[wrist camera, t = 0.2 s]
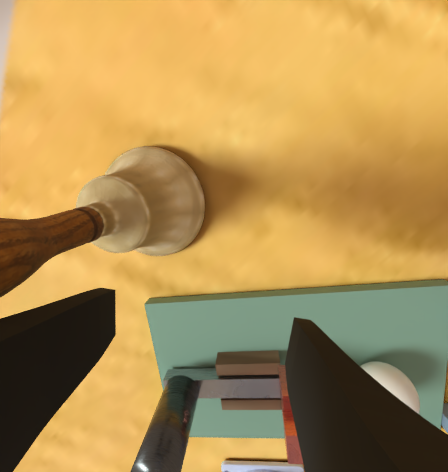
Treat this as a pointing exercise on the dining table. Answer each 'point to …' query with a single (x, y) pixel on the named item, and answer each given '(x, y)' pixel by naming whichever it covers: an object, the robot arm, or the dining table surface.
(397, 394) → the ball
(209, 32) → the dining table surface
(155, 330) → the mat
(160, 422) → the kicker rod
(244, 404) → the rail guides
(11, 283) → the hand bell
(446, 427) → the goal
